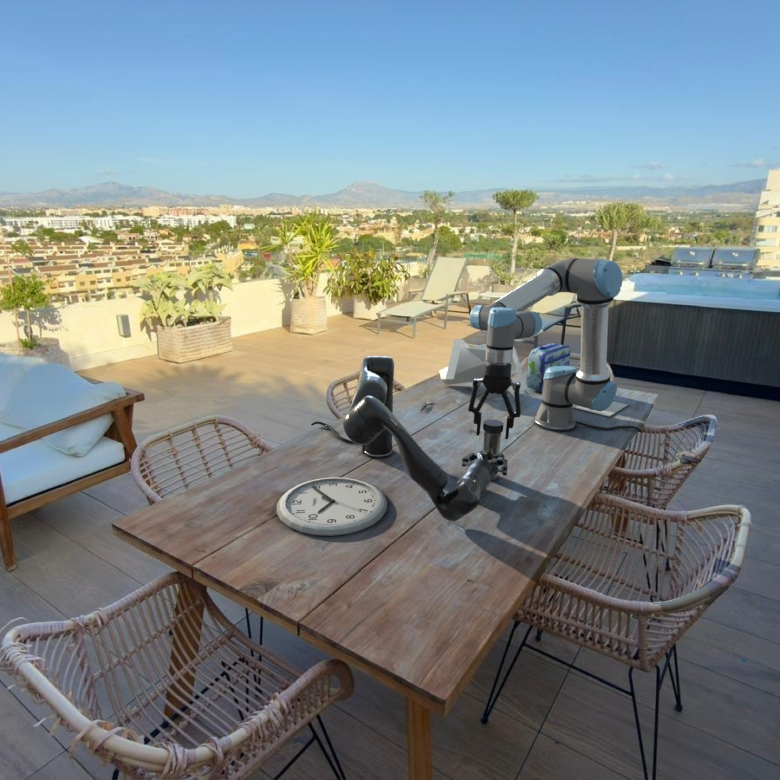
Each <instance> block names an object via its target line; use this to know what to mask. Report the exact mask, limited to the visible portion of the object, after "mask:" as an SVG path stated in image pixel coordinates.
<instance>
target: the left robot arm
mask: <svg viewBox="0 0 780 780" xmlns="http://www.w3.org/2000/svg"><path fill="white" fill-rule="evenodd" d="M394 379H395V361H394V359H393V357H392V356H379V355H374V356H373V355H369V356H364V358H363V359H362V361H361V363H360V367H359V377H358V380H357V383H356V385H355V388H354V393H353V396H352V400H351V404H350V407H349V409H348V411H347V413H346V414H345V416H344V418H343V419H342V427H343V430H344V433H345V436H347V438H348V439H347V438H345V437H343V436H341V435H339V434H338V433H337V432H336V431H335V430H334V428H333V427H332V425H329V424H327V423H325V422H322V421H317V420H316V421H313V422H312V423H311V424H310V425H311V426H314V425H321V426H323V427H325V428H327V429H329V430H330V432H331V433H332V434H333V435H334V436H335V437H336V438H337V439H339V440H340V441H343V442H346V443H349V444H354V445H359V446H361V451H362V453H363V454H365V455H366V456H367V457H370V458H379V459H381V458H386V457H389V456H391V455H392V454H393V438H394V440H395V442H396V445H397V447H398V451H399V454H400V458H401V462H402V465H403V467H404V470H405V472H406V473H407V475H408V476H409V478H410V479H411V480H412V481H413V482H414V483H415V484H417V485H418V487H420V488H421V489H422V490H423V491H424V492H426V494H427V496H428V497H429V499H430V500H431V501H432V503H433V505H434V506H435V508H436V510H437V512H438V513H439V515H441V517H442V518H443V519H445V520H446V521H450V522H457V521H459V520H460V519H462V518H463V517H465V516H466V515H468V514H470V513H471V512H473V511H474V510H475V509H476V508H477V507H478V506H479V505H480V502H481V494H482V493H483V492H484V491H485V490H486V489H487V488H488V486H489V485H490V483H491V481H492V480H491V479H492V478H493V476H494V474H497V473H498V474H499V473H501V474H502V476H507V475H508V467H509V466H508V459H506V458H505V457H506V456H505V454H504V453H503V452H500V453H499V456H498V458H493V459H491V460H485V459H482V457H483V449H482V450H480V451H479V452H477V453H475V452H470V453H468V454H467V455H465V456H463V457H462V458H461V466H462V467H463V468H465V469H464V470H463V472H462V473H461V476H460V477H459V478H458V479H457V481H456V483H455V485H454V488H452V489H451V490H450V491H448V492H447V493H446V492H445V490H444V489H446V486H447V485H448V483H449V480H450V477H449V474H448V473H447V472H446V471H445V470H444V469H443V468H442V467H441V466H440V465H439V464H438V463H436V461H434V460H433V459H432V457H430V456H429V455H428V454H427V453H426V452H425V450H424V449H422V447H421V446H419V444H418V443H417V442H416V440H415V439H414V438H413V437H412V435H411V434H410V433H409V432H408V430H407V429H406V428H405V427H404V426H403V424H402V423H401V422H400V420H399V419H398V418H397V417H396V416H395V415H394V413H393V410H394V409H393V408H394ZM325 425H327V426H325Z"/></svg>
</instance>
